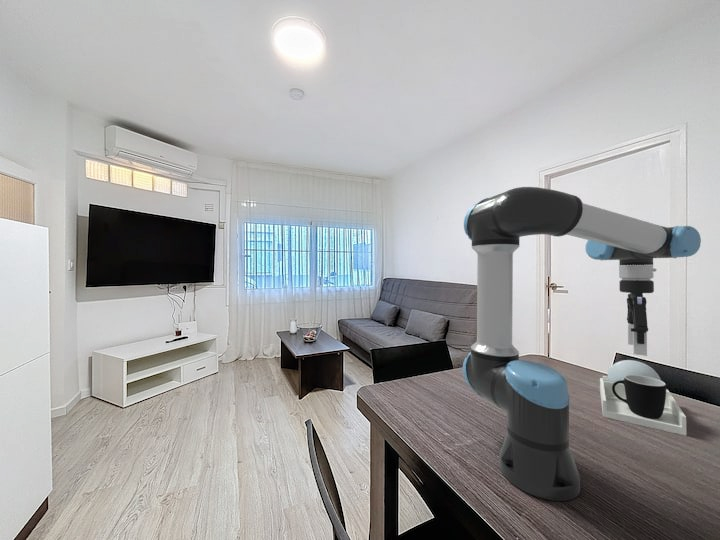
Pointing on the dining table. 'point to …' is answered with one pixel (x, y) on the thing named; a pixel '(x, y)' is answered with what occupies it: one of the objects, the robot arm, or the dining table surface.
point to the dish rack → (620, 411)
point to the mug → (643, 395)
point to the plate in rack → (630, 370)
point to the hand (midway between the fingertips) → (636, 349)
